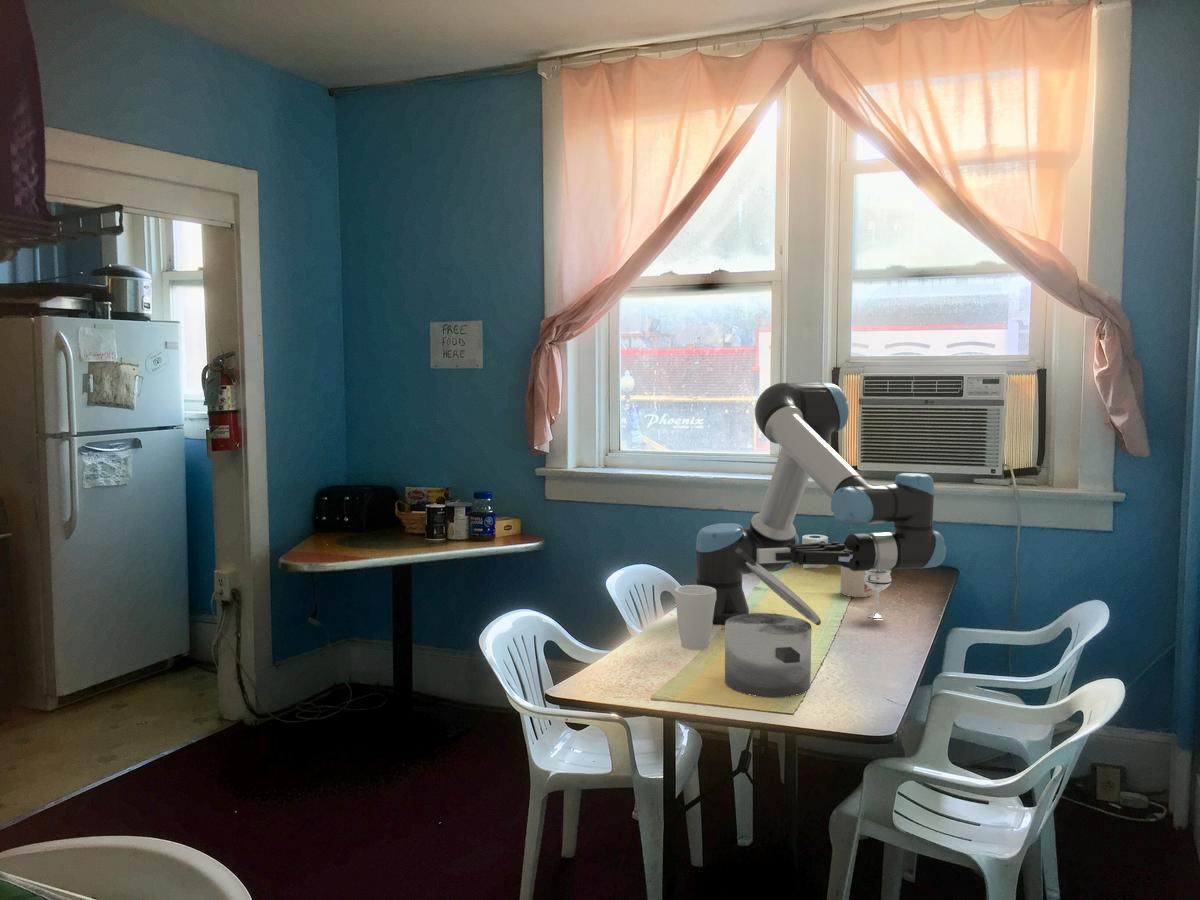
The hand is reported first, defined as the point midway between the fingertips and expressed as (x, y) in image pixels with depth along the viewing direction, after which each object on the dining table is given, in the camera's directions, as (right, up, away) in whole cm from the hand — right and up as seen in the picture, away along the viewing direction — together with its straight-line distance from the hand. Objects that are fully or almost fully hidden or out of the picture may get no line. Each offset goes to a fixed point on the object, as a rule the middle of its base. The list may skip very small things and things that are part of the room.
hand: (758, 556), depth 184 cm
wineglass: (+39, -22, +53) cm, 69 cm away
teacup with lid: (+41, -20, +78) cm, 90 cm away
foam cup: (-10, -24, +28) cm, 38 cm away
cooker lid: (+4, -7, +1) cm, 8 cm away
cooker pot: (+2, -26, +3) cm, 26 cm away
